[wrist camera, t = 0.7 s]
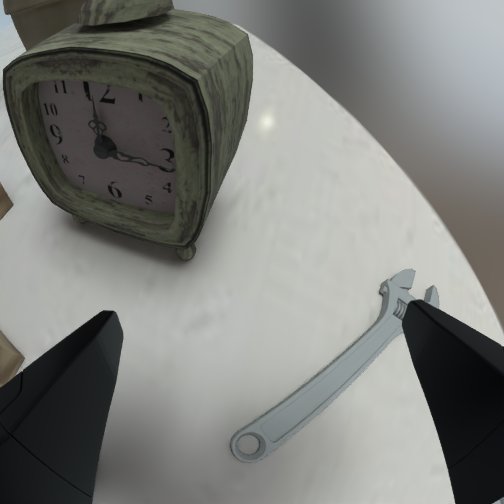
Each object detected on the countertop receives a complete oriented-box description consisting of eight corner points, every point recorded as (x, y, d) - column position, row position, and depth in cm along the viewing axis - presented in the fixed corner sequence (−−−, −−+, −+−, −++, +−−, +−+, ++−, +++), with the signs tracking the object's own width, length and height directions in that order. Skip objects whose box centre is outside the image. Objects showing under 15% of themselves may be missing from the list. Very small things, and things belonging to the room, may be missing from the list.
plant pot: (61, 49, 42) (57, -32, 24) (161, 42, 46) (171, -50, 27) (-5, 111, 30) (-29, 5, 11) (114, 101, 33) (112, -43, 15)
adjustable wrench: (242, 466, 17) (246, 471, 16) (197, 397, 19) (197, 397, 18) (436, 310, 27) (446, 304, 26) (405, 264, 29) (415, 256, 28)
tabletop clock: (59, 229, 23) (-19, -44, 2) (105, 163, 28) (89, -72, 6) (200, 280, 24) (278, -117, 2) (231, 199, 28) (306, -76, 7)
